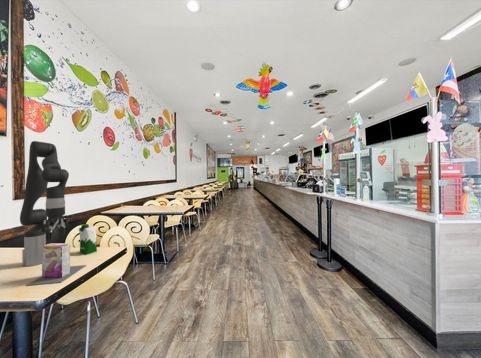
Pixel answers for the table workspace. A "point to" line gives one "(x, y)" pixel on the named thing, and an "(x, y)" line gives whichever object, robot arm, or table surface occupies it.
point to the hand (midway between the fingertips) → (55, 237)
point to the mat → (56, 280)
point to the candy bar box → (56, 260)
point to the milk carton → (87, 239)
